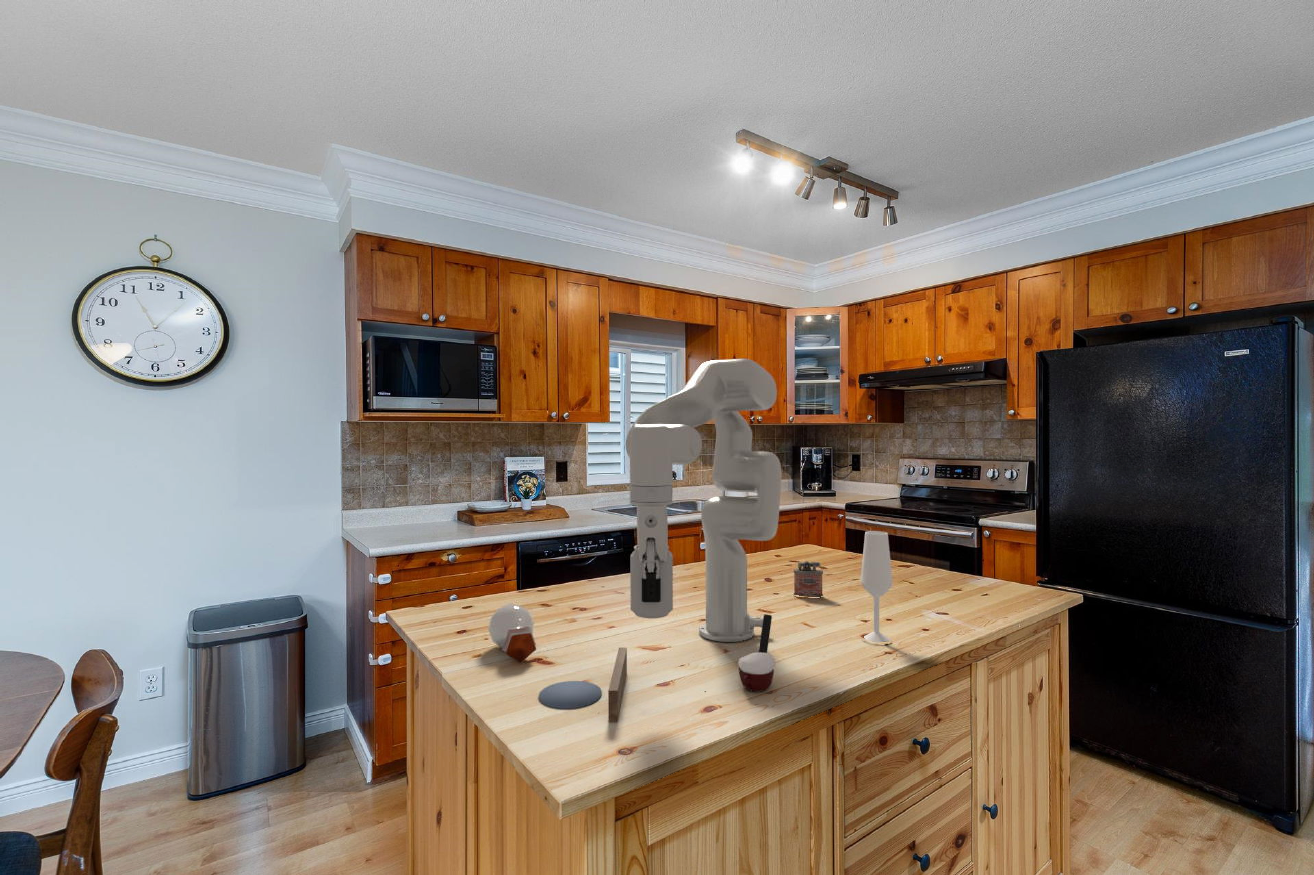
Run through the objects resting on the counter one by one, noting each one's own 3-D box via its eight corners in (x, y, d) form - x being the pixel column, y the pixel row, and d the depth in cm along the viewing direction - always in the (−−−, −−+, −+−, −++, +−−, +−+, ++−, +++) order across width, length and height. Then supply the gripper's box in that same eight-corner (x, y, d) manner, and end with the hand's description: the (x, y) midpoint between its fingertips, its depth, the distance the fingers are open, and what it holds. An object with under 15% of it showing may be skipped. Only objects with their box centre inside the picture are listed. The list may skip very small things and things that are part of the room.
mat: (604, 682, 115) (604, 681, 115) (597, 709, 104) (597, 707, 104) (545, 682, 115) (545, 680, 115) (532, 708, 104) (532, 706, 104)
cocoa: (749, 701, 108) (748, 633, 107) (727, 687, 113) (726, 623, 112) (789, 686, 113) (789, 622, 112) (766, 674, 118) (765, 612, 117)
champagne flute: (885, 647, 133) (885, 536, 133) (855, 640, 138) (855, 533, 138) (897, 640, 138) (897, 532, 138) (868, 633, 143) (868, 529, 143)
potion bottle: (512, 645, 140) (526, 676, 126) (476, 625, 136) (487, 655, 122) (536, 610, 141) (553, 637, 128) (501, 590, 137) (515, 615, 124)
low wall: (626, 673, 119) (626, 647, 119) (617, 721, 99) (617, 690, 99) (619, 673, 119) (618, 647, 119) (608, 721, 99) (608, 690, 99)
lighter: (794, 597, 174) (794, 562, 174) (793, 594, 177) (793, 559, 177) (823, 599, 173) (823, 563, 173) (822, 595, 176) (822, 560, 176)
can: (669, 621, 105) (669, 550, 105) (626, 618, 106) (625, 548, 106) (676, 608, 112) (675, 542, 112) (635, 606, 113) (635, 541, 113)
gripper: (673, 500, 100) (673, 609, 100) (671, 490, 118) (672, 583, 118) (627, 500, 100) (627, 609, 100) (632, 490, 118) (632, 583, 118)
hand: (651, 594), depth 109 cm, fingers closed on can, 7 cm apart
